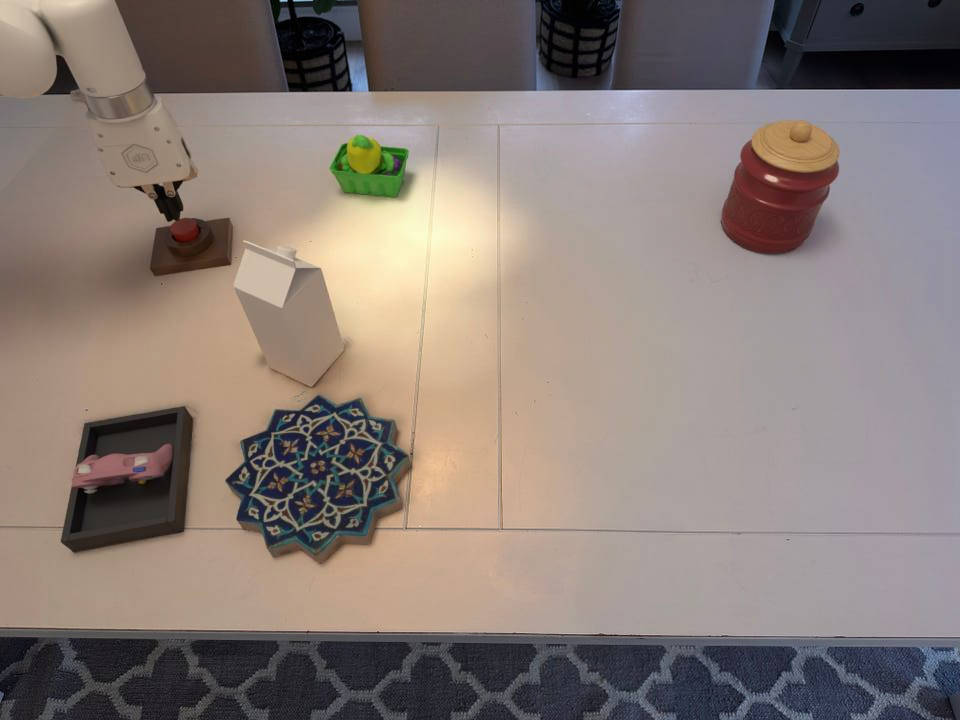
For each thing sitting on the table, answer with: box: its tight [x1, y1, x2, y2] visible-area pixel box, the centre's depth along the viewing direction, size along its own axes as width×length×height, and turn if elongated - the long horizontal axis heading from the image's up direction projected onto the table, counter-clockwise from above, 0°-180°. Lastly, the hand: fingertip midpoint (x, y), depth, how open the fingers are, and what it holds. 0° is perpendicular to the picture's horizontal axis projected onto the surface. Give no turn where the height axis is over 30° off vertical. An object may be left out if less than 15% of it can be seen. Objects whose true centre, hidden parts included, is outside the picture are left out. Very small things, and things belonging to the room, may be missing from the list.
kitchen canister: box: [721, 119, 841, 255], centre depth 95 cm, size 13×13×18 cm
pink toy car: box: [71, 444, 174, 493], centre depth 75 cm, size 10×5×7 cm, turn 99°
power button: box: [170, 217, 200, 243], centre depth 99 cm, size 4×4×2 cm
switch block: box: [149, 217, 233, 277], centre depth 100 cm, size 11×9×4 cm
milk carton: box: [232, 239, 345, 388], centre depth 81 cm, size 7×7×19 cm
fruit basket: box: [328, 134, 410, 198], centre depth 106 cm, size 11×9×11 cm
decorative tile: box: [225, 393, 412, 565], centre depth 76 cm, size 20×20×2 cm
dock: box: [60, 405, 194, 553], centre depth 76 cm, size 12×15×3 cm
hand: (174, 214), depth 96 cm, fingers closed
